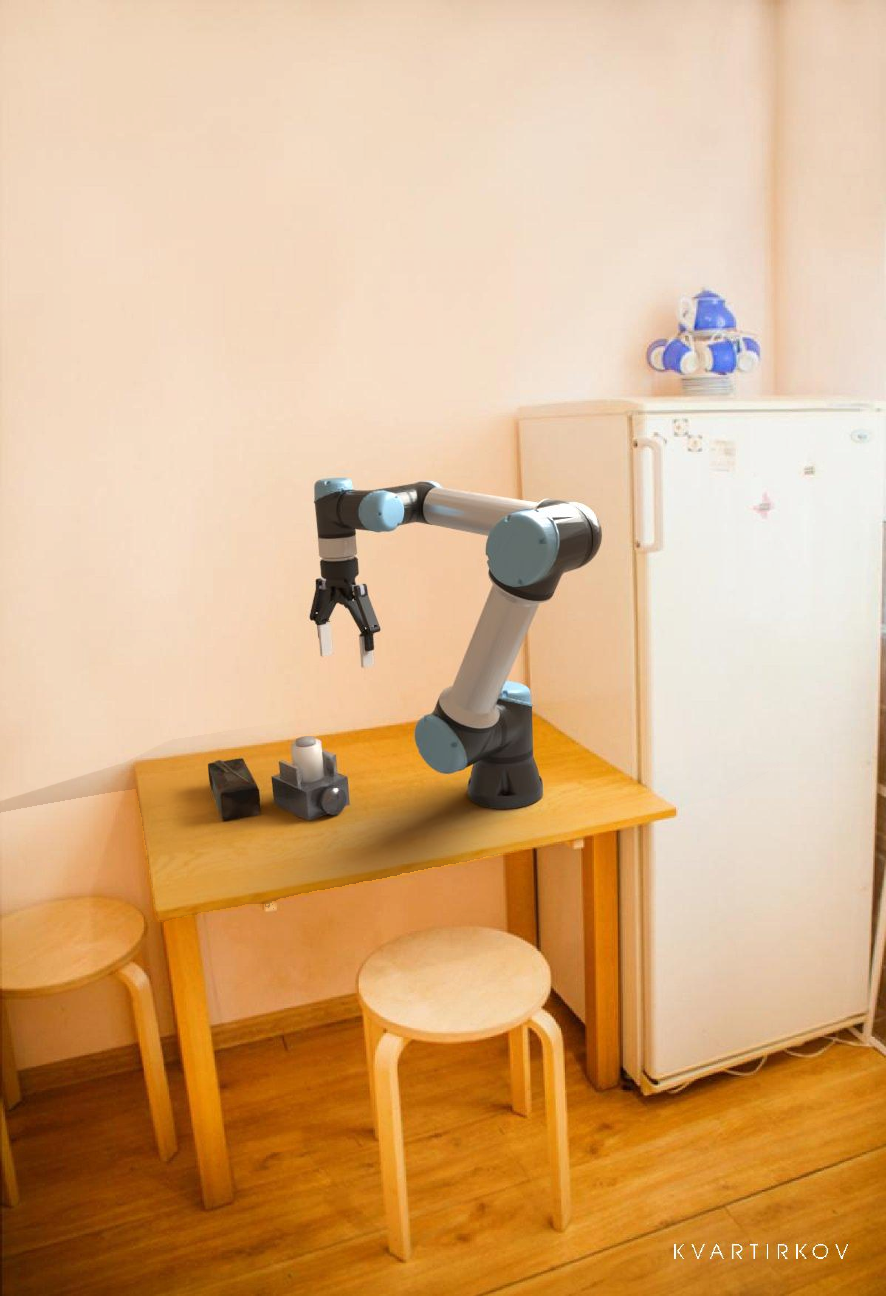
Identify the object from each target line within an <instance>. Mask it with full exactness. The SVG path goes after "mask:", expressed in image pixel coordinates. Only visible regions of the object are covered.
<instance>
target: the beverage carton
mask: <svg viewBox="0 0 886 1296" xmlns="http://www.w3.org/2000/svg"><path fill="white" fill-rule="evenodd" d="M207 771H208V772H207V773H208V781H209V788H210V792H211V793H212V796H213V799H214V802H215V805H216V809H217V810H218V811H217V812H218V813H219V815H220V818H221V820H222V822H227V821H228V822H229V821H234V820H241V819H245V818H252V817H258V816H260V815H261V813H262V811H261V809H262V808H261V794H260V788H259V787H258V785H257V782H256V780H255V778H254V777H253V774H252V773H251V771H250V769H249V767H248V765H247V764H246V762H245V760H244V758H240V757H239V758H234V759H228V760H221V759H217V760H215V761H214V762H210V763H208V764H207Z"/></svg>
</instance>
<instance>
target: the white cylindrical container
mask: <svg viewBox="0 0 886 1296" xmlns="http://www.w3.org/2000/svg"><path fill="white" fill-rule="evenodd" d="M322 749H323V747H322V741H321V740H320V739H318V738H316V737H315V736H310V735H308V736H307V735H306V736H300V737H297V738H296V739H295V740H294V741H292V742H291V743H290V752H291V764H292V765H295V766H297V767H300V777H301V782H303V783H307V782H314V781H318V780H320V779H322V778H323V777H324V769H323V758H322Z"/></svg>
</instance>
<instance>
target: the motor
mask: <svg viewBox="0 0 886 1296" xmlns="http://www.w3.org/2000/svg"><path fill="white" fill-rule="evenodd" d="M322 758H323V769H324V777H323V778H322V779H320V780H318V781H314V782H307V783H303V782H301V777H300V767H297V766H295V765H292V763H290V762H287V761H285V760H282V759H281V760H279V761H278V767H279V773H278V774H274V775H272V776H271V777H270V778H271V788H272V796H273V804H274V805H275V806H277V807H278V808H281V809H282V810H285V811H287V812H289V813H291V814H294V815H295V816H298V817H299V818H301V819H304V820H306V821H307V822H310V821H313V820H315V819H317V818H321V817H322V816H325V815H331V816H335V815H338V814H340V813H342V811H343V810H344V808H345V807H347V806H350V803H351V802H350V791H349V777H348V776H347V775H345V774H342V773H339V772H338V761H337V754H336V753H333V752H330V751H327V750H325V749H323V748H322Z"/></svg>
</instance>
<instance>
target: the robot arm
mask: <svg viewBox="0 0 886 1296" xmlns="http://www.w3.org/2000/svg"><path fill="white" fill-rule="evenodd" d="M313 487H314V490H313V492H314V493H313V495H314V500H313V504H314V509H315V519H316V521H315V522H316V530H317V531H316V532H317V545H318V556H319V558H321V559H320V561H319V568H320V569H319V570H320V577H319V578H316V579H315V591H314V595H313V598H312V603H311V609H310V612H309V620H310V621H313V622H314V623H315V625H316V628H317V637H318V642H319V643H318V644H319V652H320V653H319V655H320V657H327V656H331V655H333V654H334V650H333V649H334V648H333V647H334V646H333V637H332V634H333V633H332V625H331V623H330V622H331V620H330V617H332V614H333V611H334V610H335V607H336V605H337V604H339V605H340V606H341V605H342V606H343V607H344V608H345V609H347V610H348V611H349V614H350V615H351V618H352V619H353V621H354V622H355V624H356V627H357V629H358V630H359V631H360V634H359V635H358V639H359V640H358V643H359V653H360V657H359V658H360V667H361V668H362V669H365V668H368V667H373V666H375V657H374V650H375V642H374V641H375V640H374V634H376V633H380V632H381V626H380V624H379V620H378V618H377V615H376V612H375V610H374V606H373V605H372V601H371V599H370V596H369V590H368V586H367V584H366V583H361V584H357V583H356V578H357V577H358V576H359V574H360V572H359V571H360V570H359V569H360V568H359V559H358V558H357V554H358V548H357V530H359V531H369V532H374V533H383V532H384V533H385V532H389V533H390V532H394V531H395V530H396V529H397V528H398V527H399V526H403V525H407V524H408V525H410V524H413V523H414V524H415V523H419V524H420V523H421V524H425V525H430V526H436V527H442V528H446V529H451V530H457V531H460V532H461V531H462V532H466V533H471V534H476V535H479V536H480V535H481V536H486V537H487V539H486V542H485V556H487V559H488V560H486V563H487V567H488V572H487V574H488V578H489V579H490V582H491V583H492V586H491V587H490V588H491V589H490V591H489V592H488V596H487V598H486V601H485V603H484V605H483V608H482V610H481V613H480V615H479V619H478V620H477V623H476V625H475V629H474V631H473V633H472V636H471V639H470V641H469V644H468V645H467V646H468V647H467V648H466V651H465V653H464V656H463V658H462V660H461V661H462V662H461V664H460V666H459V669H458V671H457V674H456V676H455V679H454V681H453V684H452V686H447V687H445V688H444V689H442V691H441V692H440V694H439V696H438V699H437V701H436V704H435V706H434V709H433V711H432V712H431V713H428V714H424V715H423V717H421V718H420V719H419V720H418V721H417V722H416V725H415V727H414V742H415V745H416V747H417V750H418V753H419V755H420V757H421V758H422V760H423V761H425V763H426V765H428V766H429V767H430V768H431V769H433V770H434V771H435V772H437V773H440V774H443V775H450V774H455V773H456V772H461V771H463V770H465V769H467V768H468V767H470V766H472V767H471V771H470V777H469V779H468V782H467V797H468V798H469V800H470V801H472V803H475V804H476V805H479V806H482V807H486V808H491V809H501V810H503V809H516V808H517V809H518V808H521V807H526V806H529V805H532V804H534V803H536V802H538V801H539V800H540V799H542V797H543V796H544V782H543V779H542V777H541V776H540V772H539V769H538V766H537V763H536V760H535V758H534V740H533V739H534V737H533V736H534V733H533V732H534V731H533V707H534V704H533V702H532V701H533V700H532V692H531V690H530V688H529V687H528V686H526V685H525V684H523V683H520V682H517V681H516V682H515V681H510V680H507V679H508V678H509V676H510V672H511V670H512V668H513V666H514V663H515V662H516V658H517V657H518V654H519V652H520V650H521V647H522V645H523V642H524V640H525V637H526V636H527V633H528V631H529V629H530V627H531V624H532V622H533V619H534V617H535V615H536V613H537V611H538V608H539V606H540V604H542V603H546V602H549V601H550V600H551V599H552V598H553V596H554V594H555V591H556V589H557V587H558V586H559V583H560V581H561V579H562V576H563V575H564V574H565V573H568V572H571V571H574V570H578V569H580V568H582V567H584V566H586V565H587V564H589V563H590V562H591V561H592V560H593V559H594V558H595V557H596V555H597V554H598V552H599V550H600V547H601V544H602V541H603V539H602V538H603V532H602V531H603V530H602V526H601V525H602V524H601V523H600V520H599V518H598V516H597V515H596V513H595V512H594V511H593V510H592V509H591V508H590V507H588V506H587V505H585V504H583V503H582V502H581V503H580V502H578V501H571V500H562V499H561V500H560V499H559V500H558V499H552V498H544V499H542V500H541V501H540V502H536V501H528V500H523V499H516V498H510V497H504V496H499V495H490V494H485V493H479V492H475V491H474V492H472V491H468V490H460V489H454V488H448V487H443V486H442V485H440V484H439V483H438V482H435V481H431V480H430V481H416V482H415V483H409V484H402V485H397V486H389V487H383V488H378V489H372V490H371V489H370V490H362V489H361V490H358V489H354V486H353V482H352V479H350V478H347V477H330V478H321V479H318V480H316V481H315V483H314V486H313Z"/></svg>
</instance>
